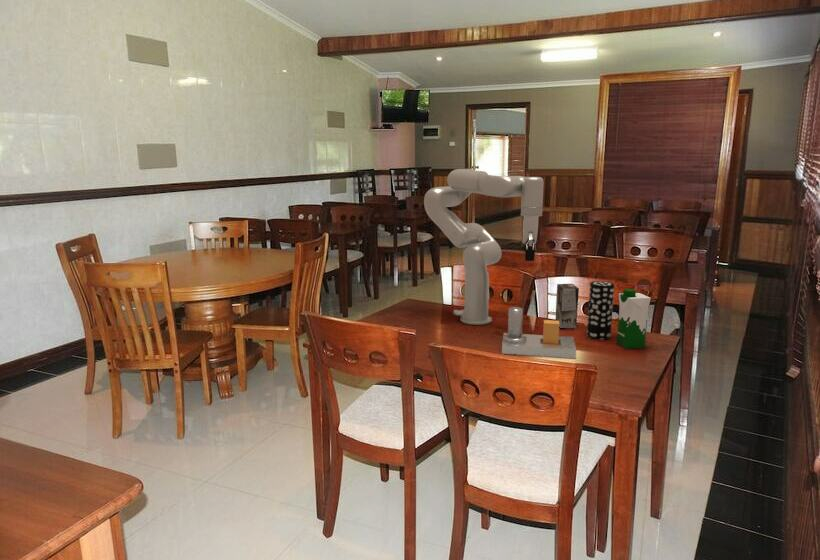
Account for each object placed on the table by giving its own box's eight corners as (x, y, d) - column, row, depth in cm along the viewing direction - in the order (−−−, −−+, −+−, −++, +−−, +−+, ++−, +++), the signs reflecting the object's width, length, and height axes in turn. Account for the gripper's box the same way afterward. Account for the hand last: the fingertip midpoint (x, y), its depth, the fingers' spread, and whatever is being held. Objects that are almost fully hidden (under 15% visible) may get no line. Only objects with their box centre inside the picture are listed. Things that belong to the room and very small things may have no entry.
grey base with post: (501, 353, 192) (503, 313, 189) (503, 340, 205) (504, 303, 202) (575, 358, 187) (578, 317, 184) (572, 345, 200) (575, 306, 198)
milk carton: (612, 342, 204) (616, 287, 200) (636, 340, 205) (640, 286, 201) (625, 349, 195) (629, 293, 191) (649, 348, 197) (654, 292, 193)
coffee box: (576, 329, 219) (579, 288, 216) (560, 329, 219) (562, 288, 216) (570, 322, 228) (573, 283, 225) (554, 322, 228) (556, 283, 225)
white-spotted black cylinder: (584, 333, 214) (587, 281, 210) (606, 333, 214) (610, 281, 210) (590, 340, 206) (593, 286, 202) (613, 340, 206) (617, 286, 202)
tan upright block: (542, 351, 194) (544, 323, 192) (542, 347, 198) (543, 319, 196) (557, 352, 193) (559, 324, 191) (557, 348, 197) (558, 320, 195)
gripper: (521, 209, 215) (519, 254, 218) (520, 213, 198) (518, 262, 202) (541, 209, 213) (539, 255, 217) (542, 214, 197) (540, 263, 200)
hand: (529, 258), depth 209 cm, fingers open, 9 cm apart
